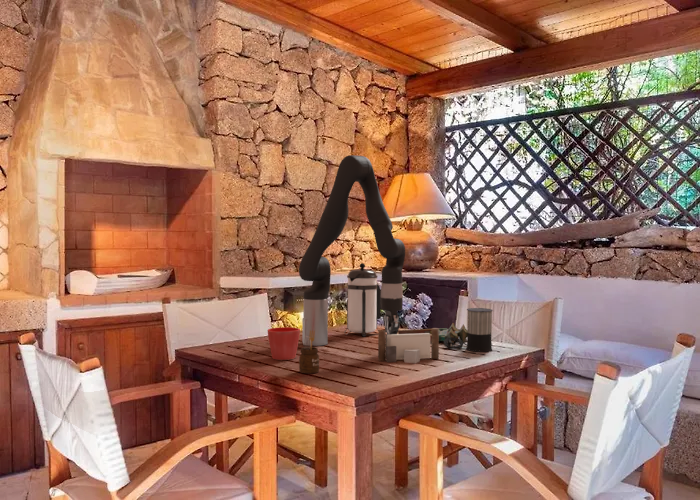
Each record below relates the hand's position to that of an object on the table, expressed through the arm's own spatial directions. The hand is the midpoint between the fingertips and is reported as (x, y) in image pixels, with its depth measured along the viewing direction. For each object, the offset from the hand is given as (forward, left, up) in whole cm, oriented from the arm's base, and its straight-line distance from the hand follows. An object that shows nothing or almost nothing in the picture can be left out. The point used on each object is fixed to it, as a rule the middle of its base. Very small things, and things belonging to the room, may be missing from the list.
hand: (391, 346), depth 210 cm
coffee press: (+2, +48, -3) cm, 48 cm away
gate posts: (+3, -10, -3) cm, 11 cm away
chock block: (+3, -13, -3) cm, 14 cm away
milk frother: (+31, +5, -3) cm, 31 cm away
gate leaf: (+3, -9, -3) cm, 10 cm away
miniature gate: (+26, +30, -4) cm, 40 cm away
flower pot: (-37, +2, -3) cm, 37 cm away
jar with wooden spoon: (-32, -21, -3) cm, 38 cm away
